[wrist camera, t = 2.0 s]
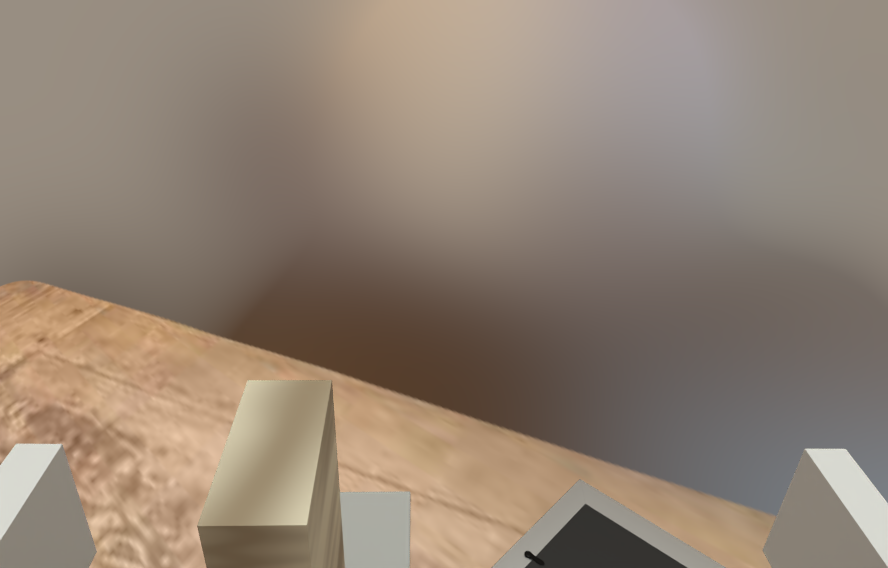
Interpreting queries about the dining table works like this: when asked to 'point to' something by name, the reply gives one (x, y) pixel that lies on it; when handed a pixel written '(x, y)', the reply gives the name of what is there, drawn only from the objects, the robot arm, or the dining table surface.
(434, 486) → the dining table surface
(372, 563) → the rubber pad
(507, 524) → the dining table surface
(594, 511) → the picture frame
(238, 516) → the tall grained pillar
